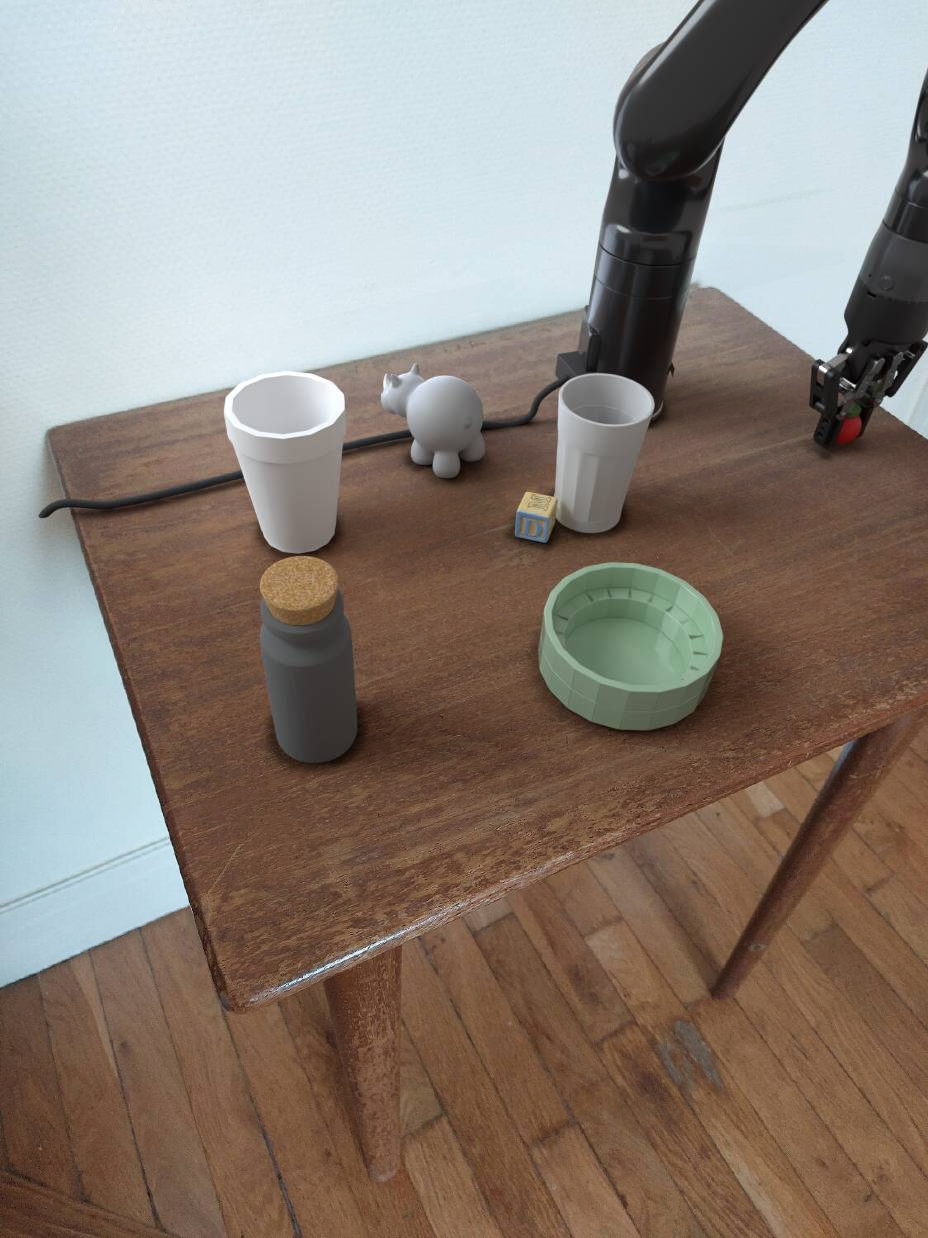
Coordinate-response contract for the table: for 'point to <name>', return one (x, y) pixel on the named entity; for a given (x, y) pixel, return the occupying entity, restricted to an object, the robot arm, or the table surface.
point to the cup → (598, 448)
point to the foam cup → (290, 454)
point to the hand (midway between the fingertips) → (836, 438)
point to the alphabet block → (536, 517)
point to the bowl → (628, 645)
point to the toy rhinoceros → (437, 418)
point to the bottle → (308, 659)
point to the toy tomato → (850, 425)
